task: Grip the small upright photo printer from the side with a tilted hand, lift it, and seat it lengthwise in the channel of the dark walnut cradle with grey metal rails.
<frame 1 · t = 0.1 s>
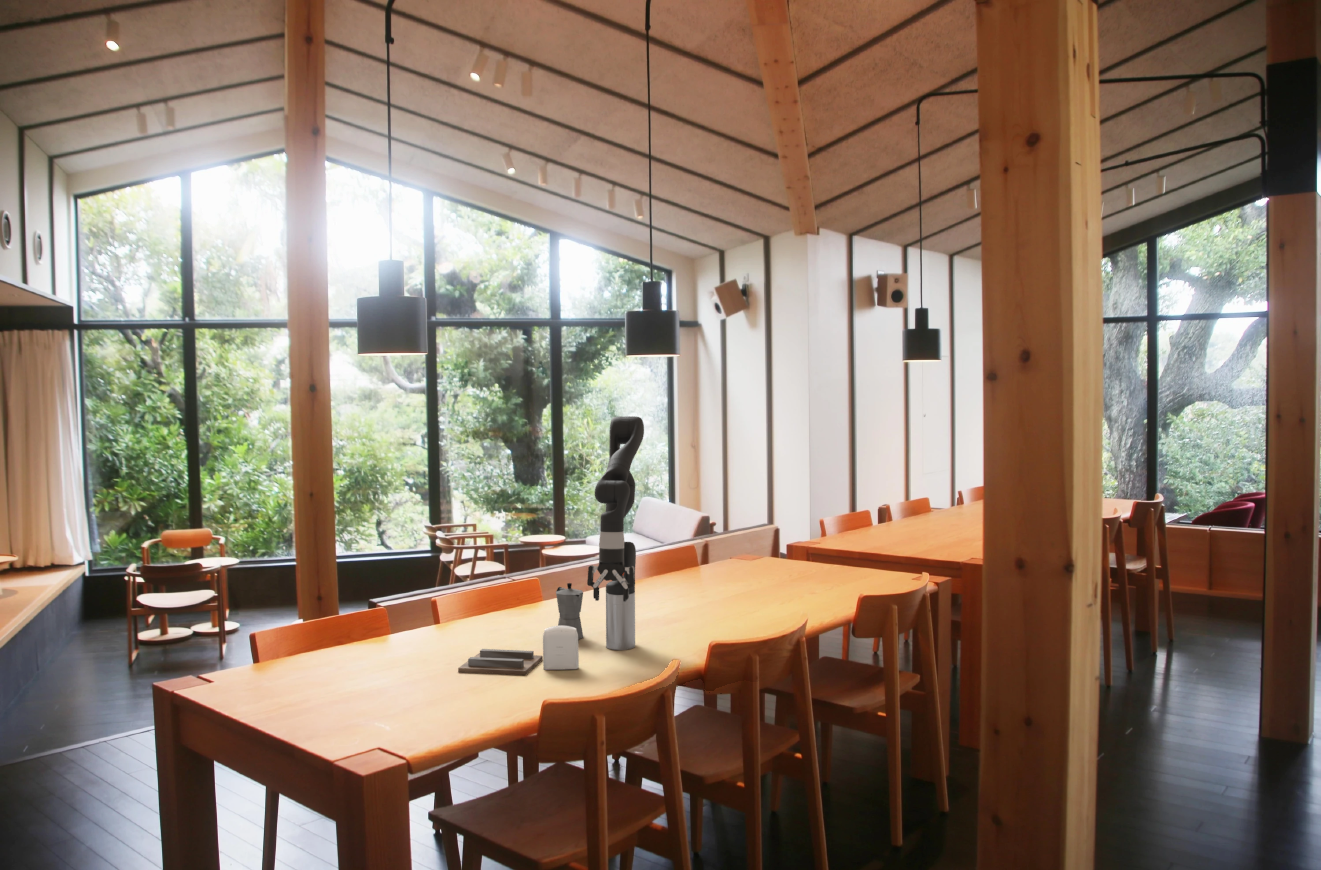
hand: (611, 600, 260), 17 cm above the table, tool pointing down, fingers open, 8 cm apart
cradle: (501, 665, 253), on the table
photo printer: (560, 669, 250), on the table
coffeepot: (568, 637, 286), on the table
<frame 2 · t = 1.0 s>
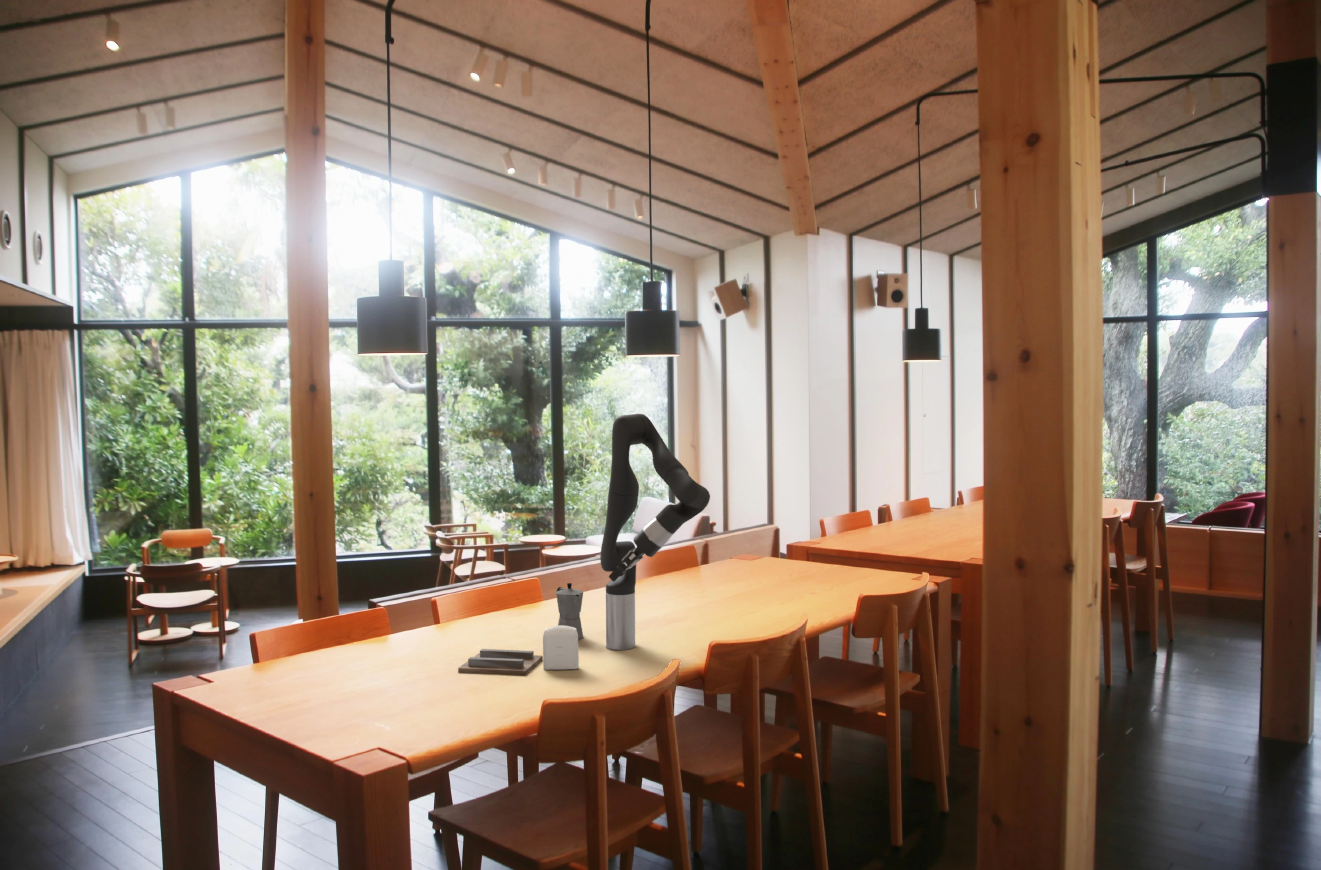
hand: (614, 576, 246), 27 cm above the table, tool tilted 45°, fingers open, 8 cm apart
nothing on the table moved.
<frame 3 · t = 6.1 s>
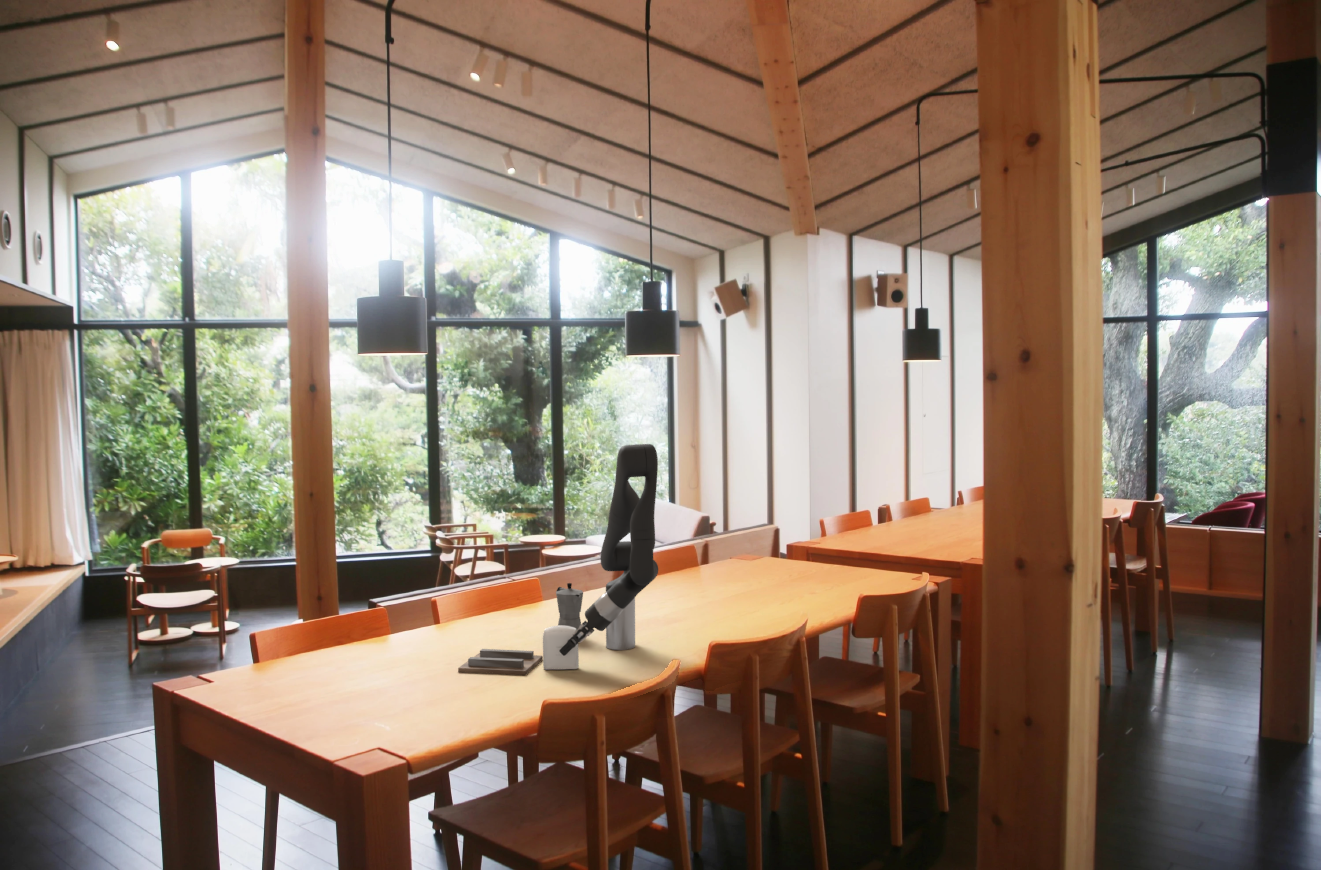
hand: (564, 650, 249), 5 cm above the table, tool tilted 45°, fingers closed on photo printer, 4 cm apart
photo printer: (560, 668, 250), on the table, touching gripper
everything else where it was.
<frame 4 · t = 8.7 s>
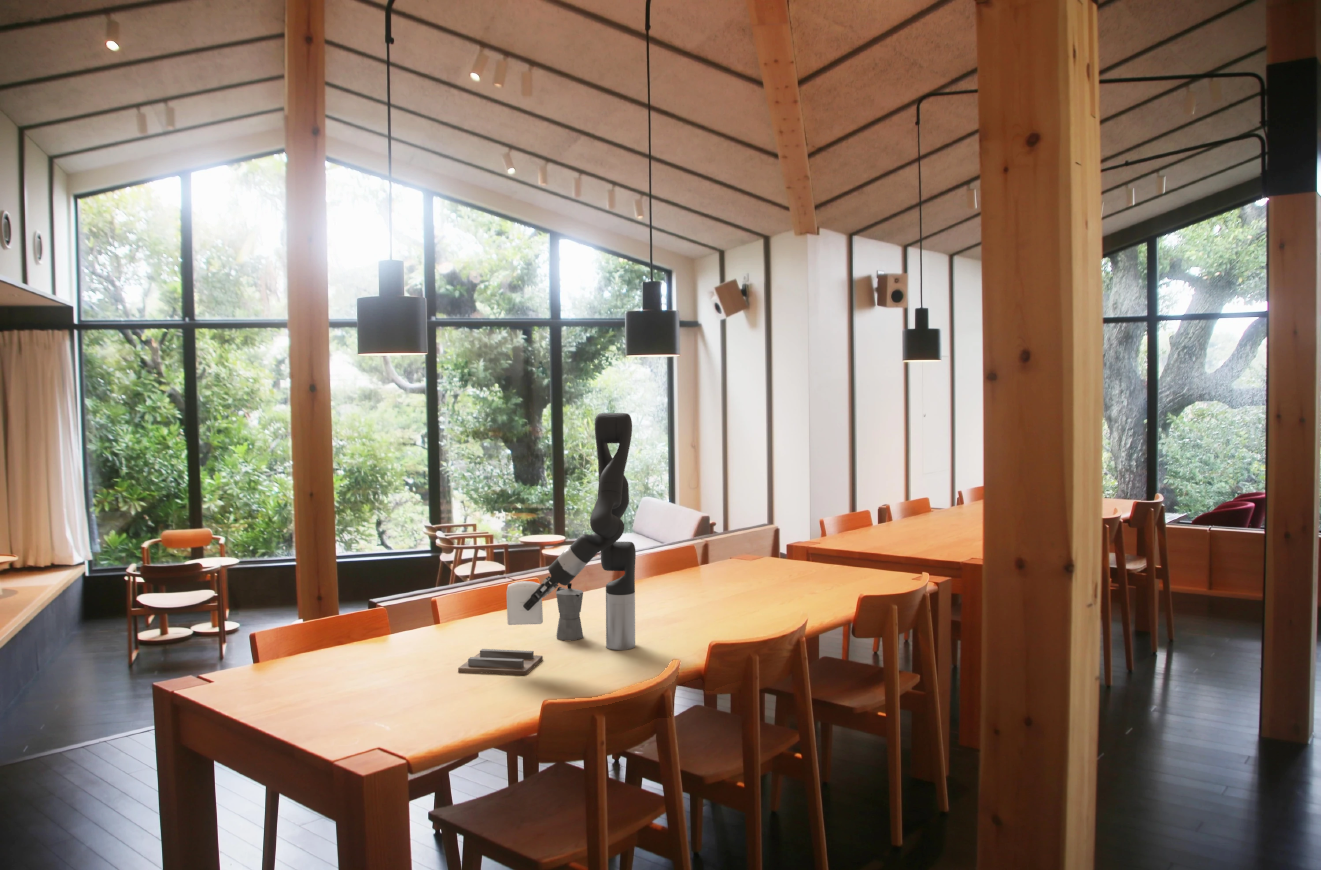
hand: (528, 606, 250), 18 cm above the table, tool tilted 45°, fingers closed on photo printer, 4 cm apart
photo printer: (525, 624, 251), point 13 cm above the table, touching gripper
everything else where it was.
when the fingers open (7 cm above the table, at t = 11.6 s): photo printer drops 1 cm, resting on cradle.
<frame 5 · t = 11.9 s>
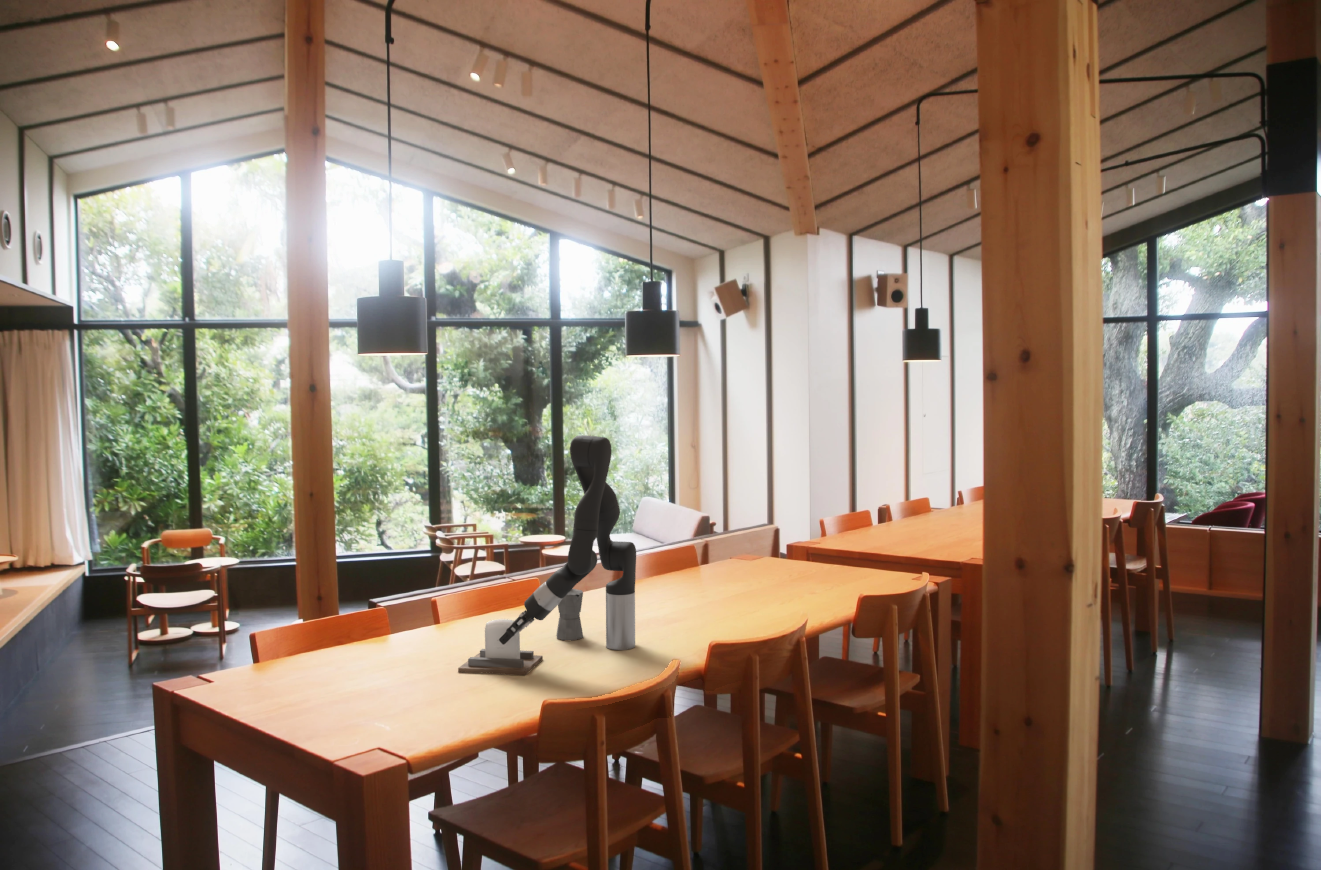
hand: (506, 638, 252), 8 cm above the table, tool tilted 45°, fingers open, 7 cm apart
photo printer: (502, 662, 253), point 1 cm above the table, touching cradle
everything else where it was.
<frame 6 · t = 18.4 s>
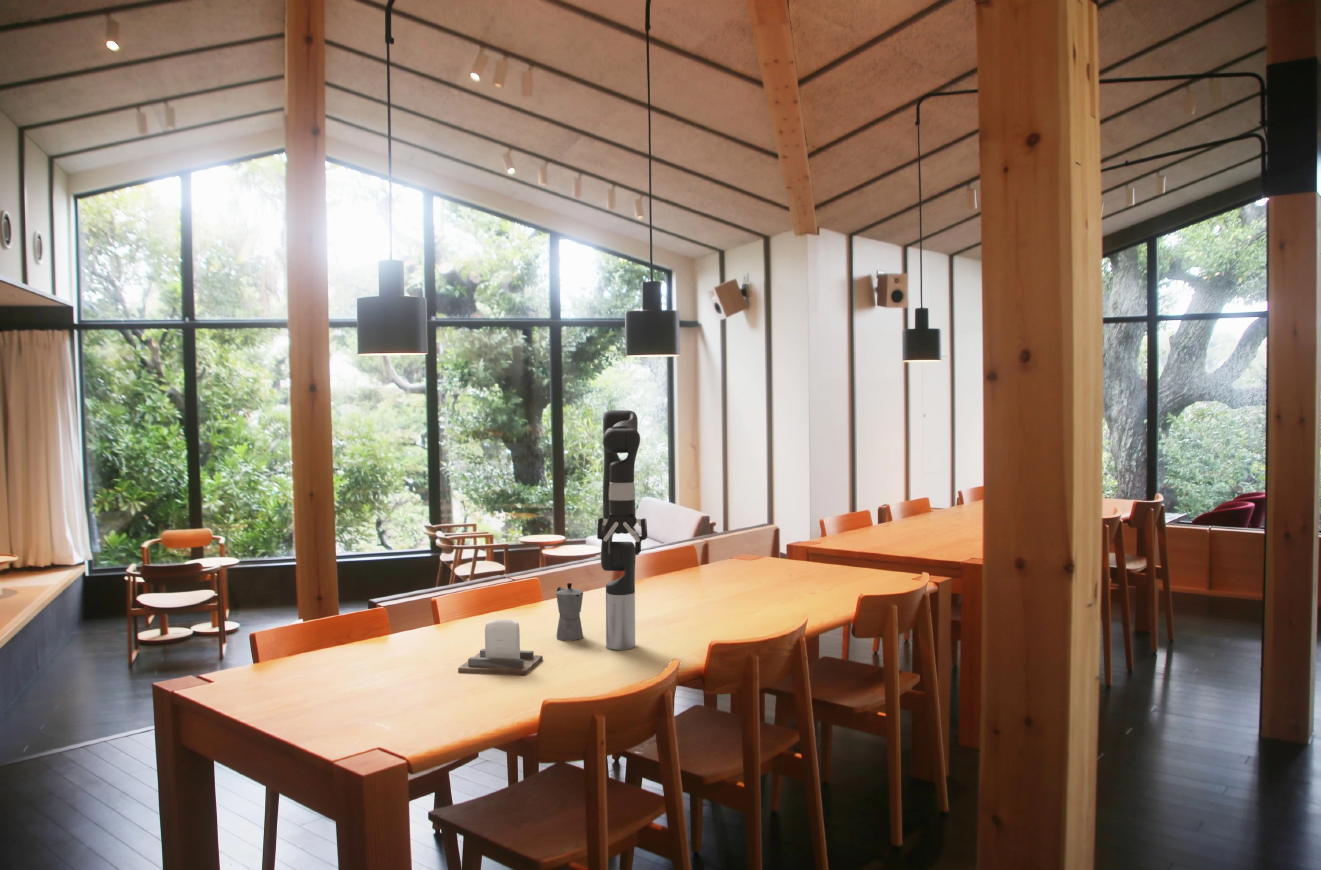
hand: (622, 554, 248), 33 cm above the table, tool pointing down, fingers open, 8 cm apart
nothing on the table moved.
at the end: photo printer 0.4 cm off-centre on the cradle, point 1.0 cm above the cradle's base; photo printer tilted 0°; the gripper is holding nothing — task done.
